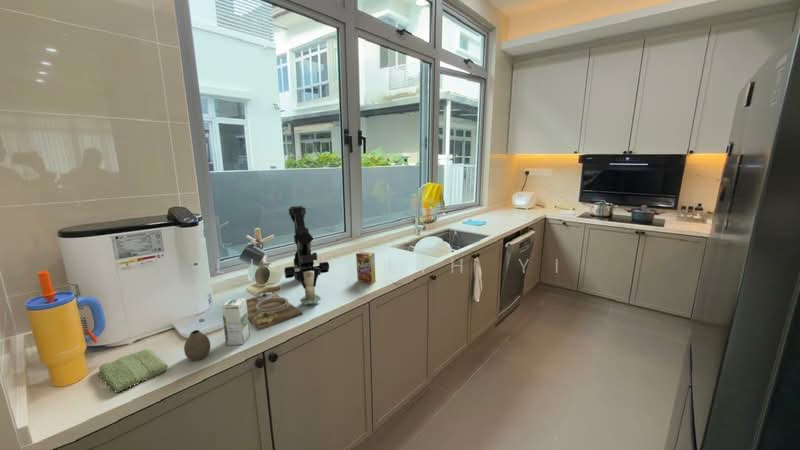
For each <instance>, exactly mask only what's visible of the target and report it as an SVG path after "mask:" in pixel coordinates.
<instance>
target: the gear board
mask: <svg viewBox="0 0 800 450" xmlns="http://www.w3.org/2000/svg"><path fill="white" fill-rule="evenodd" d="M246 304H247V313H248V322H250V323H251V324H252V325H253V326H254V327H255V328H256V329H257V330H258V331H261V330H264V329H266V328H269V327H271V326H275V325H277V324H280V323H282V322H285V321H288V320H291V319H294V318H297V317H300V316H302V315H303V312H302V310H300V309H298V308H297V307H295V306H294V305H293V304H292V303H290V302H289V299H287V297H283V296H279V295H278V294H277V293H275V292H274V291H270V292H261V293H259V294H257V295H255V296H254V297H252V298H248V299H247V298H246Z"/></svg>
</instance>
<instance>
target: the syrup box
mask: <svg viewBox="0 0 800 450" xmlns="http://www.w3.org/2000/svg"><path fill="white" fill-rule="evenodd" d="M246 300H247V298H241V297H240V298H239V297H238V298H236V297H235V298H231V299H230V298H229V299H228V300H227V301H226V302H225V303H224V304H222V306H221V312H222V321H223V330H224V337H225V338H224V339H225V345H226V346H238V345H244V344H245V343H246V341H247V340H248V339H249V337H250V327H249V325H250V324H249V320H248V313H247V304H246Z"/></svg>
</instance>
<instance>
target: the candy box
mask: <svg viewBox="0 0 800 450" xmlns="http://www.w3.org/2000/svg"><path fill="white" fill-rule="evenodd" d="M375 255H376V254H375V252H366V251H360V250H359V251H358V252H356V253H355V256H356V257H355V258H356V261H355V262H356V276H357V282H362V283H367V284H373V283H375V282H376V259H375V258H376V257H375Z"/></svg>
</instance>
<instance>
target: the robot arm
mask: <svg viewBox="0 0 800 450" xmlns="http://www.w3.org/2000/svg"><path fill="white" fill-rule="evenodd" d="M306 212H307V211H306V207H303V205H300V206H299V205H297V206H296V205H295V206H290V208H288V215H289V217H290V220H291V221H292V223H293V225H294V235H293V241H294V242H293V243H295V244H296V252H295V254H294V258H293V266H286V267H284V278H285V279H291V278H294V279H295V280H297V281H298V282H299V283H300V285H301V286H302V288H303V289H304V290H305V284H304V272H305V271H313V276H314V288H315V287H316V285H317V281H318V276H321V274H324V273H328V272H330V271H329V270H330V264H329V262H328V261H323V262H321V261H320V262H319V264H318V265H315V262H314V261H317V260H318V253H317V252H312V250H311V247H312V242H313V241H314V237H313V236H312V234H311V233H310V230H309V229H308V227H306V224H305V215H306V214H307V213H306Z"/></svg>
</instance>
